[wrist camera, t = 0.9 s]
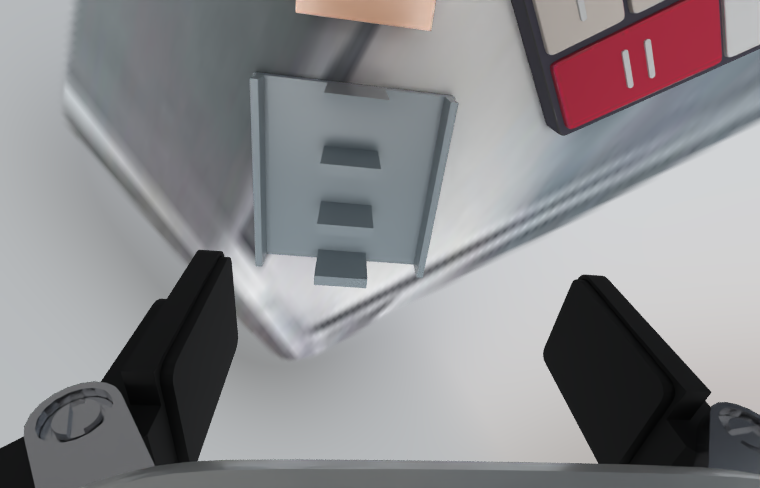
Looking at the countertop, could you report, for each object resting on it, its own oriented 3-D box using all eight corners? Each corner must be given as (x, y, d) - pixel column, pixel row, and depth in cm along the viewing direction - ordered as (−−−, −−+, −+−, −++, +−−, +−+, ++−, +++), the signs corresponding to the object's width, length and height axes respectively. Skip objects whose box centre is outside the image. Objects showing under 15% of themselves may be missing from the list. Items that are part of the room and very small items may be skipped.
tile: (310, -24, 26) (296, -35, 20) (418, -8, 26) (438, -14, 20) (308, 12, 27) (295, 12, 21) (414, 27, 27) (430, 31, 21)
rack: (255, 71, 28) (237, 82, 24) (452, 95, 30) (469, 109, 25) (260, 246, 35) (246, 280, 31) (420, 259, 36) (429, 292, 32)
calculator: (519, -27, 23) (815, -190, 20) (499, -24, 27) (746, -160, 24) (564, 141, 29) (806, 34, 25) (542, 125, 32) (751, 30, 29)
